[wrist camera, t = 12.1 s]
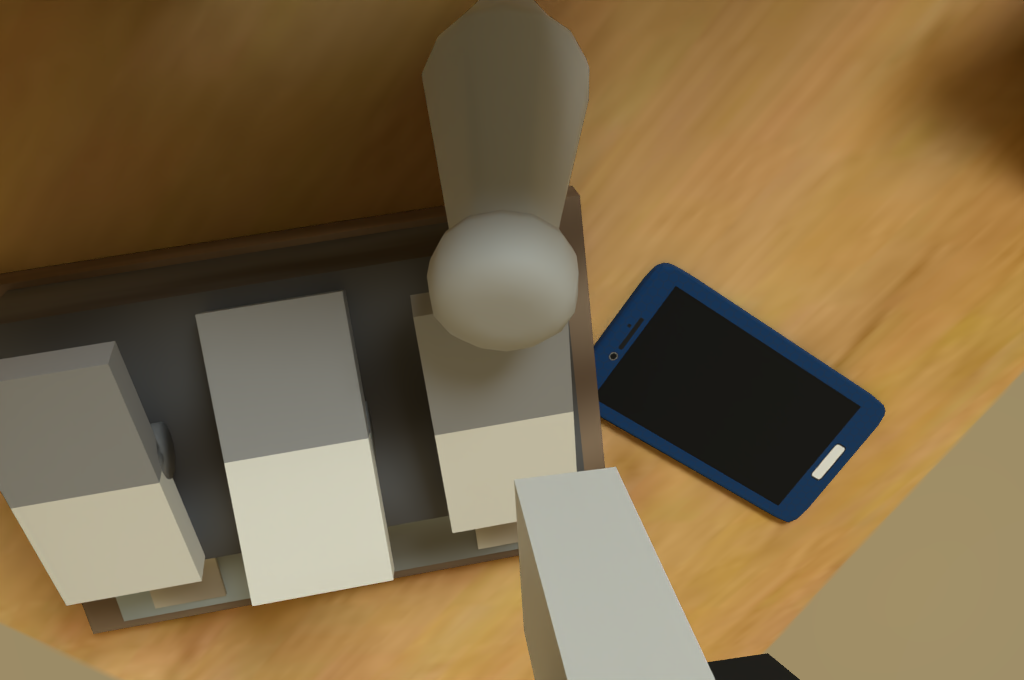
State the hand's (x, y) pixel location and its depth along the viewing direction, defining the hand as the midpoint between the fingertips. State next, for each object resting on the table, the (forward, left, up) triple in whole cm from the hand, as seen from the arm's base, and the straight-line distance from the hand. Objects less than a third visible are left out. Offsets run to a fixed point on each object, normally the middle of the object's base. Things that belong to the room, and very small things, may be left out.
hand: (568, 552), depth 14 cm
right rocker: (+6, 0, -19) cm, 20 cm away
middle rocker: (+7, -7, -19) cm, 22 cm away
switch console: (+9, -7, -25) cm, 27 cm away
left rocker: (+6, -14, -19) cm, 24 cm away
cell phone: (+12, +11, -26) cm, 30 cm away
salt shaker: (-5, +3, -24) cm, 25 cm away
